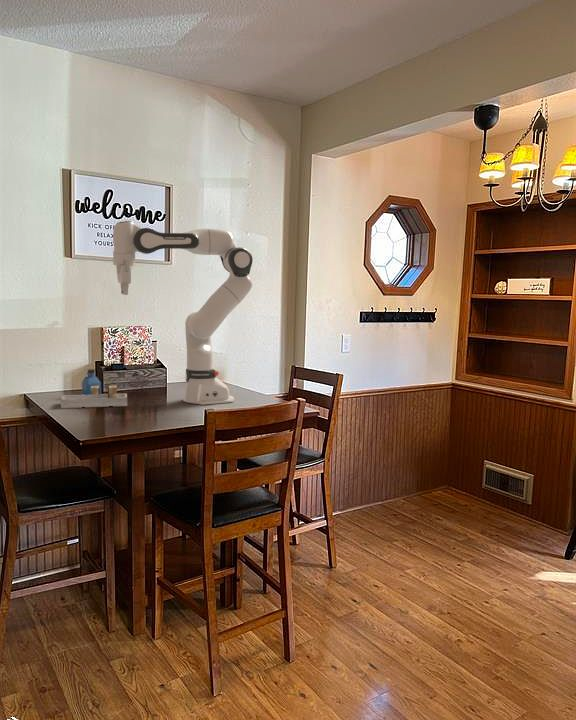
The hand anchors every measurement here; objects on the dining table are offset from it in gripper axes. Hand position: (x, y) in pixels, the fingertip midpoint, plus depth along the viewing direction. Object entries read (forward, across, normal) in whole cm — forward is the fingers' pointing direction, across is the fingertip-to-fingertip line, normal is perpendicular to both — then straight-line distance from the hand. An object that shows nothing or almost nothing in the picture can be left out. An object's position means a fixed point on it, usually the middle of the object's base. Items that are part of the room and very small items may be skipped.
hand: (124, 294), depth 240 cm
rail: (+46, -1, +12) cm, 48 cm away
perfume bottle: (+47, +18, +13) cm, 52 cm away
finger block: (+46, +8, +12) cm, 49 cm away
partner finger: (+45, -1, +5) cm, 45 cm away
